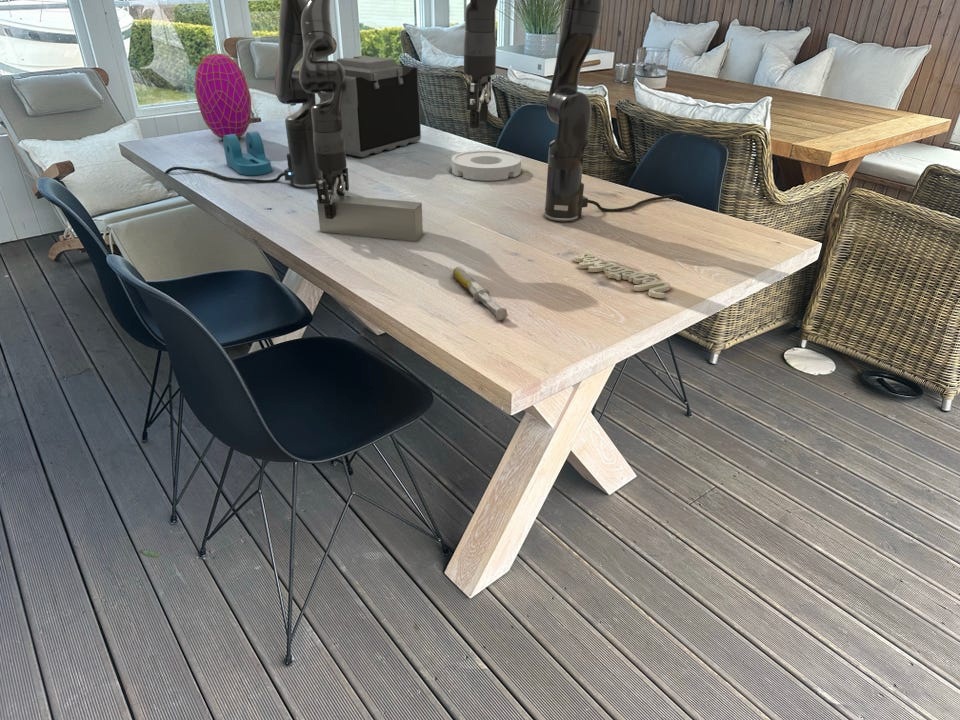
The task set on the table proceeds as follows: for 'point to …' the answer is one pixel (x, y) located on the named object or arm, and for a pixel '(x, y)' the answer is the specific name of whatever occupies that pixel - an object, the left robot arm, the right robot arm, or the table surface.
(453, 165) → the ashtray
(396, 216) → the bar
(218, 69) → the decorative egg
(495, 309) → the syringe
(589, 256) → the decorative sign
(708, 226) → the table surface
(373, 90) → the cooler box
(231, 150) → the camera mount
